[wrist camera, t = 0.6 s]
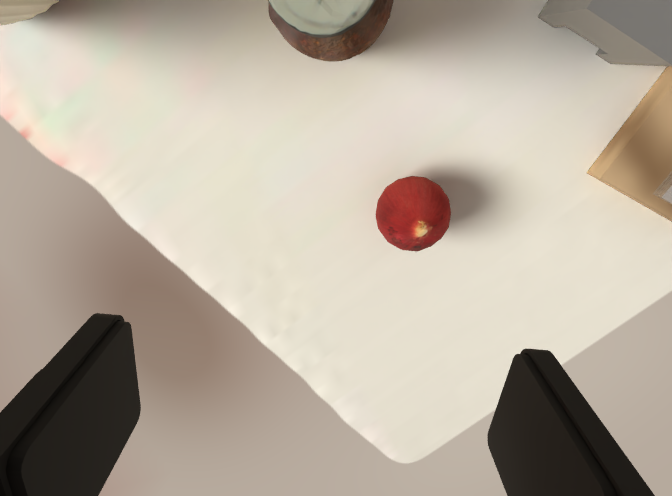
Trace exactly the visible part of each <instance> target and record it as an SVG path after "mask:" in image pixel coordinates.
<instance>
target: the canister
mask: <svg viewBox="0 0 672 496" xmlns="http://www.w3.org/2000/svg"><path fill="white" fill-rule="evenodd" d="M59 1H60V0H0V25H7V24H12V23H15V22H18V21H23V20H28V19H31V18H33V17H35V16H36V15H37V14H40V13H43V12H46V11H47V10H48V9H49V8H50V6H51V5H53V4H56V3H57V2H59Z"/></svg>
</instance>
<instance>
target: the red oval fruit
mask: <svg viewBox="0 0 672 496" xmlns="http://www.w3.org/2000/svg"><path fill="white" fill-rule="evenodd" d="M450 215H451V211H450V204H449V199H448V197H447V195H446V194H445V193H444V191H443V190H442V188H441V187H440V186H439V185H437V184H436V183H434V182H432V181H430V180H429V179H427V178H424V177H415V176H410V177H406V178H402V179H398V180H396V181H395V182H393V183H392V184H390V185H389V186H387V187H386V188H385V190H384V192H383V193H382V195H381V196H380V198H379V200H378V203H377V210H376V220H377V225H378V229H379V230H380V232H381V233H382V234H383V236H384V237H385V239H386V240H387V241H388V242H389V243H391V244H392V245H394V246H396V247H398V248H399V249H402V250H409V251H420V250H422V249H425V248H428V247H431V246H432V245H433V244H435V243H436V242H437V241H438V240H440V239H441V238H442V237H443V235H444V233H445V232H446V230H447V229H448V227H449V221H450Z"/></svg>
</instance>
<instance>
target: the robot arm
mask: <svg viewBox="0 0 672 496" xmlns="http://www.w3.org/2000/svg"><path fill="white" fill-rule="evenodd" d="M140 408H141V407H140V397H139V389H138V380H137V372H136V364H135V355H134V346H133V338H132V329H131V325H130V323H129V322H124V319H123V317H122V316H121V315H111V314H99V313H97V314H94V315H92V316H91V317H90V318H89V319H88V320H87V322H86V323H85V324H84V325H83V326H82V327H81V328H80V329H79V330H78V331H77V333H75V335H74V336H73V337H72V338H71V339H70V340H69V341H68V342H67V343H66V344H65V345H64V346H63V348H62V349H61V350H60V351H59V352H58V353H57V354H56V355H55V356H54V357H53V358H52V360H51V361H50V362H49V363H48V364H47V365H46V366H45V367H44V368H43V369H41V370H40V371H39V372H38V373H37V374H36V375H35V376H34V377H33V378H32V379H31V380H30V381H29V382H28V383H27V384H26V386H25V387H24V388H23V389H22V390H21V391H20V392H19V393H18V394H17V395H16V396H15V398H14V399H12V401H11V402H10V403H9V404H8V405H7V406H6V407H5V408H4V409H3V410H2V411H1V413H0V496H98V495H99V493H100V491H101V490H102V488H103V486H104V484H105V482H106V480H107V478H108V476H109V475H110V473H111V471H112V469H113V467H114V465H115V463H116V461H117V460H118V458H119V456H120V454H121V452H122V450H123V448H124V446H125V444H126V443H127V441H128V439H129V437H130V435H131V433H132V431H133V429H134V428H135V426H136V424H137V422H138V419H139V416H140ZM488 446H489V449H490V452H491V454H492V457H493V459H494V462H495V465H496V467H497V470H498V472H499V475H500V478H501V480H502V483H503V485H504V488H505V490H506V493H507V495H508V496H655V495H654V494H653V493H652V491H651V490H650V488H649V487H648V486H647V484H646V483H645V482H644V480H643V479H642V477H641V476H640V475H639V473H638V472H637V470H636V469H635V468H634V466H633V465H632V463H631V462H630V461H629V459H628V458H627V456H626V455H625V454H624V452H623V451H622V450H621V448H620V447H619V445H618V444H617V443H616V441H615V440H614V438H613V437H612V436H611V435H610V433H609V431H608V430H607V429H606V427H605V426H604V425H603V423H602V422H601V420H600V419H599V418H598V416H597V415H596V413H595V412H594V411H593V410H592V408H591V407H590V405H589V404H588V402H587V401H586V400H585V398H584V397H583V395H582V394H581V393H580V392H579V390H578V389H577V387H576V386H575V384H574V383H573V382H572V380H571V379H570V377H569V376H568V375H567V373H566V372H565V370H564V369H563V368H562V366H561V365H560V363H559V362H558V361H557V359H556V358H555V356H554V355H553V354H552V353H551V352H550V351H548V350H536V349H524V350H523V351H522V352H521V354H516V355H515V356H514V358H513V361H512V364H511V367H510V370H509V373H508V375H507V378H506V381H505V384H504V387H503V390H502V393H501V396H500V399H499V402H498V405H497V408H496V411H495V414H494V417H493V420H492V422H491V425H490V429H489V431H488Z"/></svg>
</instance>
